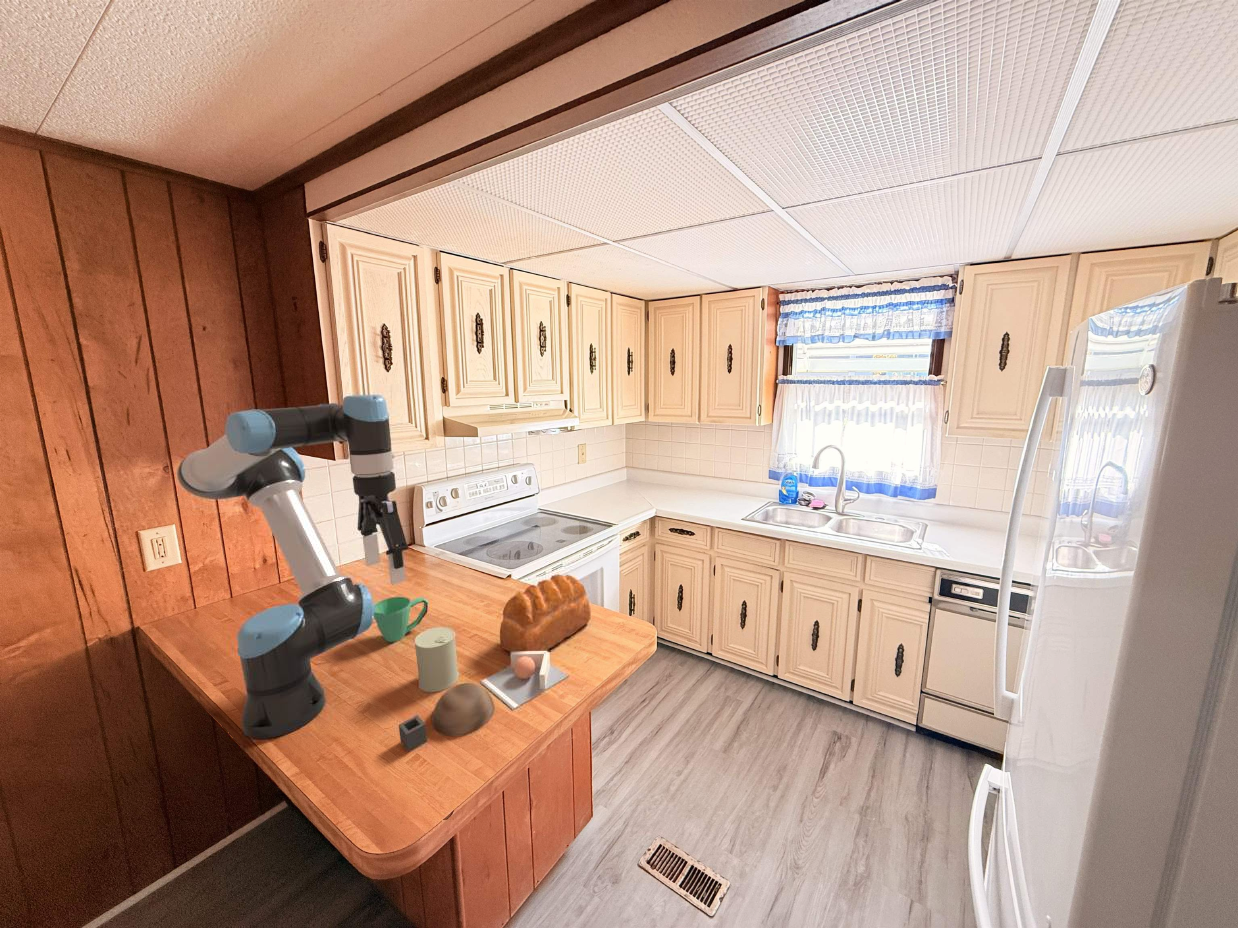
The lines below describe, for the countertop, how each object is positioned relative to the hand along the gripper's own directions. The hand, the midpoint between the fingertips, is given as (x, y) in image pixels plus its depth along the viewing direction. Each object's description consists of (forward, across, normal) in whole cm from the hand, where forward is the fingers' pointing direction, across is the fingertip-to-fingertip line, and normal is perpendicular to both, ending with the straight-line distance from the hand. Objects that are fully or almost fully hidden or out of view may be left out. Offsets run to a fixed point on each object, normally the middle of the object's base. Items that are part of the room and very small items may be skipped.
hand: (385, 572), depth 100 cm
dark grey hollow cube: (+33, -11, +2) cm, 35 cm away
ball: (+30, -10, -26) cm, 41 cm away
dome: (+40, -11, -9) cm, 42 cm away
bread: (+33, +1, -41) cm, 53 cm away
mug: (+33, +31, -13) cm, 47 cm away
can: (+33, +4, -11) cm, 35 cm away
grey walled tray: (+33, -11, -25) cm, 43 cm away
